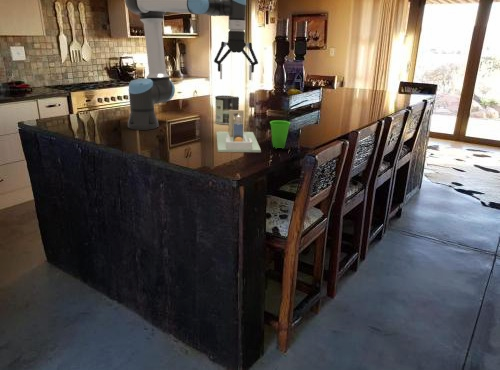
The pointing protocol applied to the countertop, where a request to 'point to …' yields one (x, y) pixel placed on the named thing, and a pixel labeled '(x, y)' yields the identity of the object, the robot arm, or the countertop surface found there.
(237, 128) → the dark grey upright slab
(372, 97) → the countertop surface
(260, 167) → the countertop surface
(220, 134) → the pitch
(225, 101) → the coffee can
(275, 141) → the cup
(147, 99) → the robot arm
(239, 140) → the ball
